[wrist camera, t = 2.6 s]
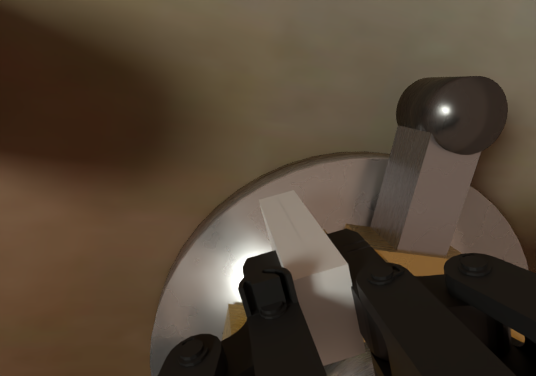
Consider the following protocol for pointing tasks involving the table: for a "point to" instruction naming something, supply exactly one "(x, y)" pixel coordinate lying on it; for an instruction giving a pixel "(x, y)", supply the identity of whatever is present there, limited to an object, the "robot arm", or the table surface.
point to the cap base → (257, 242)
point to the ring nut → (427, 174)
